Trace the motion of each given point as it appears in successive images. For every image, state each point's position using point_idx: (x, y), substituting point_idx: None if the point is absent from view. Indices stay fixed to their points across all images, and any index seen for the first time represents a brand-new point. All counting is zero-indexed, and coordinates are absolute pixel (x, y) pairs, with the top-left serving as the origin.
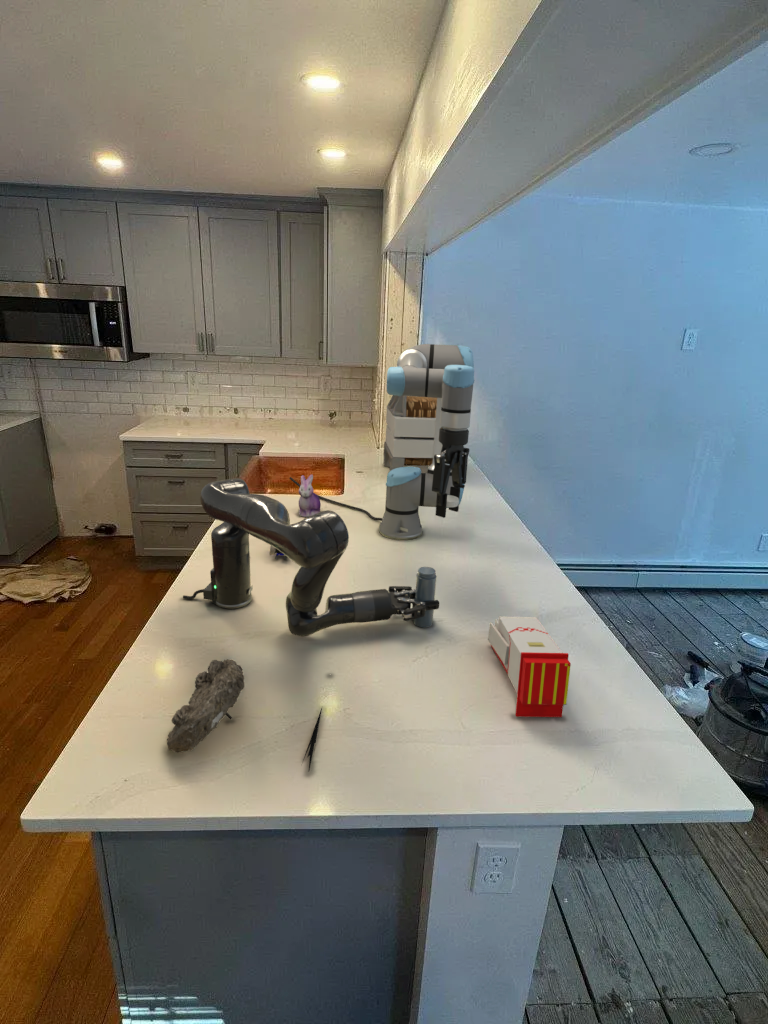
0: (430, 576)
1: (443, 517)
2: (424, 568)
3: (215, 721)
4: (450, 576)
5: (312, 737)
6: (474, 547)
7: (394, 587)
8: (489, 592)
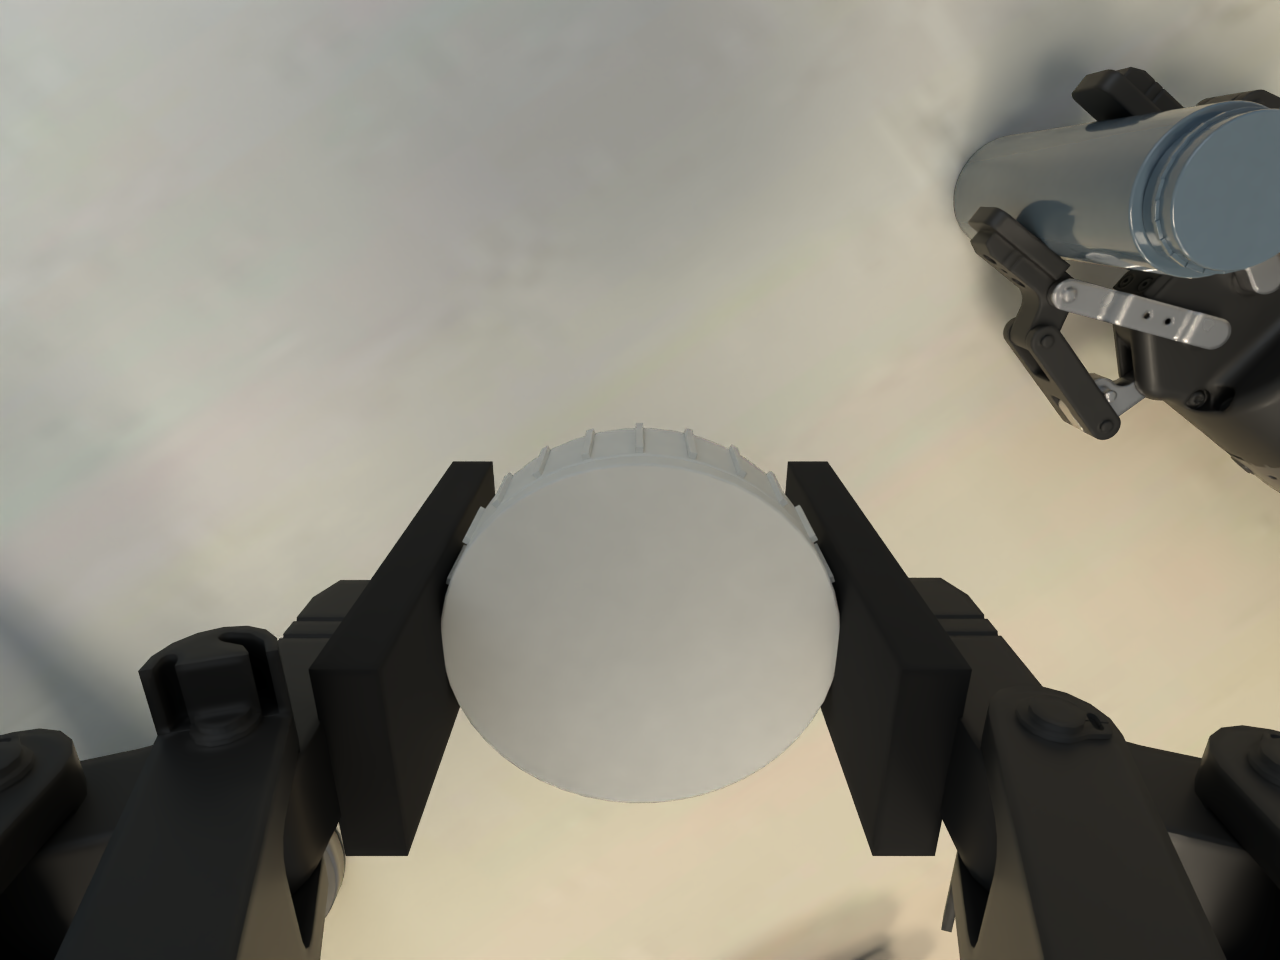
0: None
1: (829, 468)
2: (1221, 232)
3: None
4: (441, 386)
5: None
6: (5, 495)
7: (1096, 409)
8: (430, 86)
